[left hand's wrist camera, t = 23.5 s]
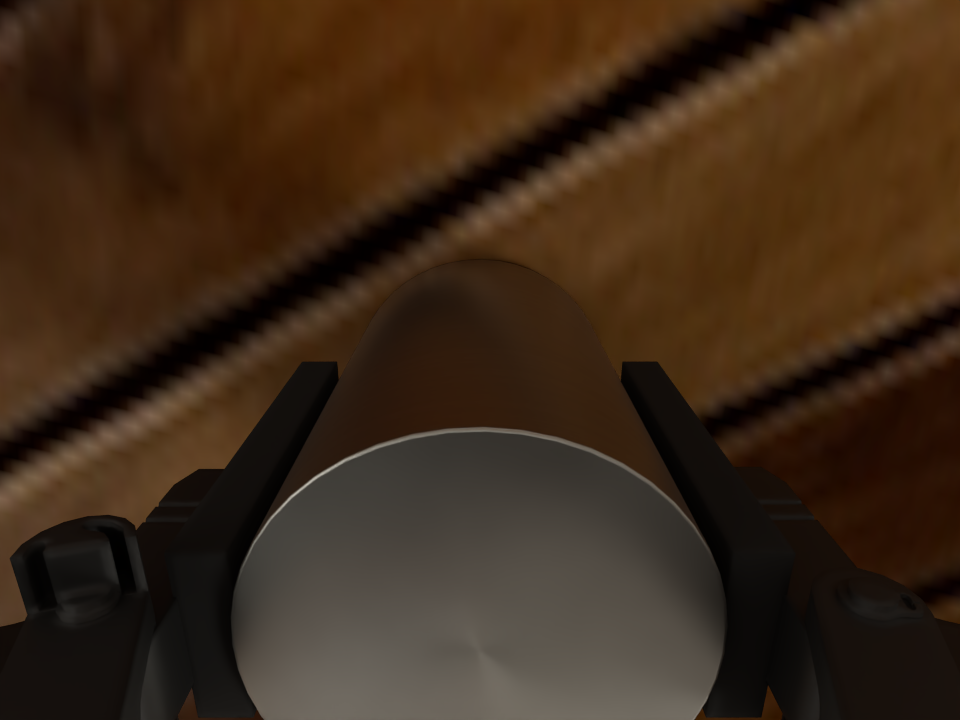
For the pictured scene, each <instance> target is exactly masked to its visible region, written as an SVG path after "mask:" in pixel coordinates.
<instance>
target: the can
mask: <svg viewBox="0 0 960 720" xmlns="http://www.w3.org/2000/svg"><path fill="white" fill-rule="evenodd" d="M231 629H232V645H233V649H234V654H235V658H236V662H237V667H238V670H239V673H240V675H241V678H242V680H243V683H244V685H245V688H246V690H247V693H248V695H249V696H250V698H251V700H252V701H253V703H254V705H255V706H256V708H257V710H258V711H259V713H260V715H261V716H262V717H263V719H264V720H694V719H695V718H696V716H697V715H698V713H699V712H700V710H701V709H702V707H703V706H704V704H705V703H706V701H707V699H708V697H709V695H710V693H711V690H712V688H713V686H714V684H715V682H716V680H717V677H718V674H719V670H720V667H721V663H722V660H723V656H724V652H725V643H726V635H727V608H726V597H725V593H724V588H723V584H722V579H721V575H720V572H719V570H718V567H717V565H716V562H715V560H714V558H713V555H712V553H711V550H710V548H709V546H708V544H707V542H706V540H705V539H704V537H703V535H702V533H701V531H700V529H699V527H698V525H697V524H696V522H695V520H694V518H693V516H692V514H691V512H690V510H689V509H688V507H687V505H686V503H685V501H684V499H683V497H682V495H681V493H680V492H679V490H678V488H677V486H676V484H675V482H674V480H673V478H672V477H671V475H670V473H669V471H668V469H667V467H666V465H665V463H664V462H663V460H662V458H661V456H660V454H659V452H658V450H657V448H656V447H655V445H654V443H653V441H652V439H651V437H650V435H649V433H648V432H647V430H646V428H645V426H644V424H643V422H642V420H641V418H640V417H639V415H638V413H637V411H636V409H635V407H634V405H633V403H632V402H631V400H630V398H629V396H628V394H627V392H626V390H625V388H624V387H623V385H622V383H621V381H620V379H619V377H618V375H617V373H616V371H615V370H614V368H613V366H612V364H611V362H610V360H609V358H608V356H607V355H606V353H605V351H604V349H603V347H602V345H601V343H600V341H599V340H598V338H597V336H596V334H595V332H594V330H593V328H592V326H591V325H590V323H589V321H588V320H587V318H586V316H585V315H584V313H583V311H582V310H581V309H580V307H579V306H578V305H577V304H576V303H575V301H574V300H573V299H572V298H571V297H570V296H569V295H568V294H567V293H566V292H565V291H564V290H563V289H561V288H560V287H559V286H558V285H556V284H555V283H553V282H552V281H550V280H549V279H548V278H546V277H544V276H542V275H540V274H538V273H536V272H534V271H533V270H530V269H527V268H524V267H522V266H519V265H516V264H512V263H507V262H503V261H496V260H484V259H479V260H463V261H457V262H452V263H447V264H444V265H441V266H438V267H434V268H432V269H429V270H427V271H425V272H423V273H421V274H419V275H417V276H415V277H414V278H412V279H410V280H409V281H407V282H406V283H404V284H403V285H402V286H400V287H399V288H398V289H397V290H396V291H395V292H393V293H392V294H391V295H390V296H389V297H388V298H387V300H386V301H385V302H384V303H383V304H382V305H381V306H380V308H379V309H378V311H377V312H376V314H375V315H374V317H373V318H372V320H371V322H370V323H369V325H368V327H367V329H366V331H365V333H364V335H363V336H362V338H361V340H360V342H359V344H358V346H357V348H356V349H355V351H354V353H353V355H352V357H351V359H350V361H349V362H348V364H347V366H346V368H345V370H344V372H343V374H342V375H341V377H340V379H339V381H338V383H337V385H336V387H335V388H334V390H333V392H332V394H331V396H330V398H329V400H328V401H327V403H326V405H325V407H324V409H323V411H322V413H321V414H320V416H319V418H318V420H317V422H316V424H315V426H314V427H313V429H312V431H311V433H310V435H309V437H308V439H307V440H306V442H305V444H304V446H303V448H302V450H301V452H300V453H299V455H298V457H297V459H296V461H295V463H294V465H293V466H292V468H291V470H290V472H289V474H288V476H287V478H286V479H285V481H284V483H283V485H282V487H281V489H280V491H279V492H278V494H277V496H276V498H275V500H274V502H273V504H272V505H271V507H270V509H269V511H268V513H267V515H266V517H265V518H264V520H263V522H262V524H261V526H260V528H259V530H258V531H257V533H256V535H255V537H254V539H253V541H252V543H251V545H250V547H249V549H248V551H247V553H246V556H245V558H244V560H243V562H242V564H241V567H240V570H239V574H238V577H237V581H236V584H235V588H234V591H233V601H232V610H231Z"/></svg>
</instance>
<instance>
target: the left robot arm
mask: <svg viewBox="0 0 960 720" xmlns="http://www.w3.org/2000/svg"><path fill="white" fill-rule="evenodd" d="M338 381H339V379H338V367H337V362H302V363H301V364H300V366H299V367H298V368H297V370H296V371H295V373H294V374H293V375H292V377H291V378H290V379H289V381H288V382H287V384H286V385H285V386H284V388H283V389H282V390H281V392H280V393H279V395H278V396H277V397H276V399H275V400H274V401H273V403H272V404H271V406H270V407H269V408H268V410H267V411H266V413H265V414H264V415H263V417H262V418H261V419H260V421H259V422H258V424H257V425H256V426H255V428H254V429H253V430H252V432H251V433H250V435H249V436H248V437H247V439H246V440H245V442H244V443H243V444H242V446H241V447H240V448H239V450H238V451H237V453H236V454H235V455H234V457H233V458H232V459H231V461H230V462H229V464H228V465H227V466H226V468H225V469H198V470H197V471H195V472H193V473H192V474H190V475H189V476H187V477H186V478H184V479H182V480H181V481H179V482H178V483H176V484H175V485H173V487H172V488H171V489H170V490H169V492H168V493H167V494H166V495H165V496H164V498H163V499H162V500H161V501H160V502H159V507H155V508H154V510H153V511H152V512H151V513H150V514H149V516H148V517H147V518H146V522H143V523H142V524H141V525H140V526H139V528H138V529H137V530H136V529H135V525H133V524H132V523H131V522H129V521H128V520H127V519H126V518H122V517H117V516H111V515H100V516H87V517H83V518H79V519H75V520H71V521H67V522H63V523H61V524H58V525H56V526H54V527H51V528H49V529H47V530H44V531H42V532H40V533H39V534H37V535H35V536H34V537H32V538H31V539H29V540H28V541H26V542H25V543H23V544H22V545H21V546H20V547H19V548H18V549H17V551H16V552H15V553H14V554H13V555H12V556H11V557H10V561H11V564H12V567H13V570H14V573H15V576H16V580H17V583H18V586H19V589H20V592H21V595H22V599H23V602H24V605H25V608H26V611H27V617H26V619H25V621H23V622H19V623H16V624H11V625H7V626H2V627H0V720H179V719H178V714H179V712H180V710H181V708H182V706H183V704H184V702H185V700H186V698H187V696H188V694H189V692H190V690H191V688H192V690H193V694H194V699H195V704H196V709H197V713H198V717H254V715H255V712H256V709H257V708H256V706H255V705H254V703H253V701H252V700H251V698H250V696H249V695H248V693H247V690H246V688H245V685H244V683H243V680H242V678H241V675H240V673H239V670H238V667H237V662H236V658H235V654H234V649H233V645H232V629H231V610H232V601H233V591H234V588H235V584H236V581H237V577H238V574H239V570H240V567H241V564H242V562H243V560H244V558H245V556H246V553H247V551H248V549H249V547H250V545H251V543H252V541H253V539H254V537H255V535H256V533H257V531H258V530H259V528H260V526H261V524H262V522H263V520H264V518H265V517H266V515H267V513H268V511H269V509H270V507H271V505H272V504H273V502H274V500H275V498H276V496H277V494H278V492H279V491H280V489H281V487H282V485H283V483H284V481H285V479H286V478H287V476H288V474H289V472H290V470H291V468H292V466H293V465H294V463H295V461H296V459H297V457H298V455H299V453H300V452H301V450H302V448H303V446H304V444H305V442H306V440H307V439H308V437H309V435H310V433H311V431H312V429H313V427H314V426H315V424H316V422H317V420H318V418H319V416H320V414H321V413H322V411H323V409H324V407H325V405H326V403H327V401H328V400H329V398H330V396H331V394H332V392H333V390H334V388H335V387H336V385H337V383H338ZM621 383H622V385H623V387H624V388H625V390H626V392H627V394H628V396H629V398H630V400H631V402H632V403H633V405H634V407H635V409H636V411H637V413H638V415H639V417H640V418H641V420H642V422H643V424H644V426H645V428H646V430H647V432H648V433H649V435H650V437H651V439H652V441H653V443H654V445H655V447H656V448H657V450H658V452H659V454H660V456H661V458H662V460H663V462H664V463H665V465H666V467H667V469H668V471H669V473H670V475H671V477H672V478H673V480H674V482H675V484H676V486H677V488H678V490H679V492H680V493H681V495H682V497H683V499H684V501H685V503H686V505H687V507H688V509H689V510H690V512H691V514H692V516H693V518H694V520H695V522H696V524H697V525H698V527H699V529H700V531H701V533H702V535H703V537H704V539H705V540H706V542H707V544H708V546H709V548H710V550H711V553H712V555H713V558H714V560H715V562H716V565H717V567H718V570H719V572H720V575H721V579H722V584H723V588H724V593H725V597H726V608H727V635H726V643H725V652H724V656H723V660H722V663H721V667H720V670H719V674H718V677H717V680H716V682H715V684H714V686H713V688H712V690H711V693H710V695H709V697H708V699H707V701H706V703H705V704H704V706H703V707H702V708H703V711H704V713H705V716H706V717H761V716H762V711H763V706H764V702H765V697H766V692H767V687H768V685H769V687H770V689H771V691H772V693H773V695H774V697H775V699H776V701H777V703H778V705H779V707H780V709H781V711H782V713H783V715H782V719H781V720H960V624H957V623H952V622H948V621H944V620H940V619H937V618H934V616H933V614H932V612H931V611H930V610H929V608H928V607H927V606H926V604H925V603H924V602H923V600H922V599H921V598H919V597H918V596H917V595H915V594H914V593H913V592H912V591H910V590H909V589H908V588H906V587H905V586H904V585H902V584H900V583H898V582H895V581H893V580H891V579H889V578H887V577H885V576H883V575H881V574H877V573H873V572H870V571H866V570H863V569H859V568H857V567H856V566H855V565H854V563H853V562H852V561H851V560H850V559H849V557H848V556H847V555H846V554H845V553H844V552H843V550H842V549H841V548H840V547H839V546H838V544H837V543H836V542H835V541H834V540H833V538H832V537H831V536H830V535H829V534H828V532H827V531H826V530H825V529H824V528H823V526H822V525H821V524H820V523H819V522H818V520H814V516H813V514H812V513H811V512H810V511H809V510H808V508H807V507H806V506H805V505H802V504H801V500H800V499H799V498H798V497H797V495H796V494H795V493H794V492H793V491H792V489H791V488H790V487H789V486H788V485H787V483H786V482H784V481H782V480H781V479H779V478H778V477H776V476H775V475H773V474H771V473H770V472H768V471H767V470H765V469H763V468H762V467H733V466H732V464H731V463H730V461H729V460H728V459H727V457H726V456H725V455H724V453H723V452H722V450H721V449H720V448H719V446H718V445H717V444H716V442H715V441H714V439H713V438H712V437H711V435H710V434H709V432H708V431H707V430H706V428H705V427H704V426H703V424H702V423H701V421H700V420H699V419H698V417H697V416H696V415H695V413H694V412H693V410H692V409H691V408H690V406H689V405H688V403H687V402H686V401H685V399H684V398H683V397H682V395H681V394H680V392H679V391H678V390H677V388H676V387H675V385H674V384H673V383H672V381H671V380H670V379H669V377H668V376H667V374H666V373H665V372H664V370H663V369H662V368H661V366H660V365H659V363H658V362H622V374H621Z"/></svg>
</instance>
